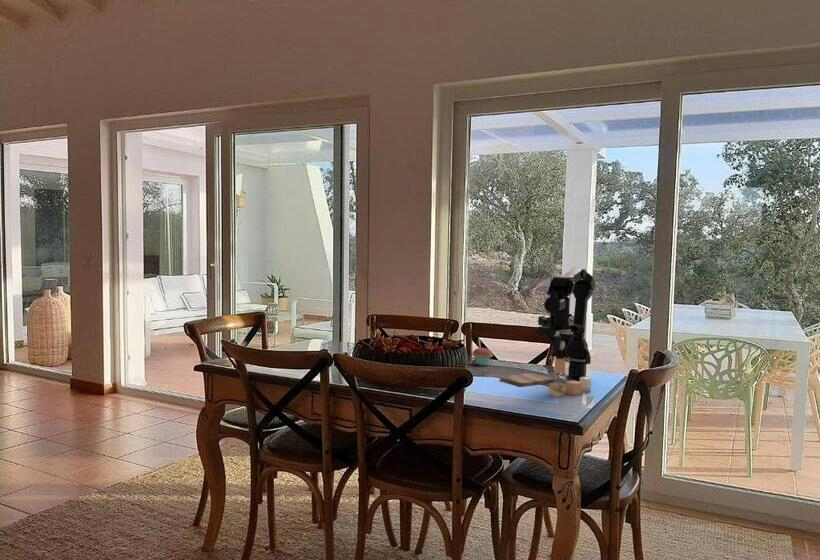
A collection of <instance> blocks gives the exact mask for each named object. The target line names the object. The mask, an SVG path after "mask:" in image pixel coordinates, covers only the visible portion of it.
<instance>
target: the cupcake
mask: <svg viewBox="0 0 820 560" xmlns="http://www.w3.org/2000/svg"><path fill="white" fill-rule="evenodd" d="M477 340H478V341H477V342H478V347H477V348H476V349H474V350H473V351H472V356H473V357H474V359H475V362H476V363H475V364H476V365H477V364H479V365H478V366H488V365H489V363H490V359H491V358H492V357H493V356H494V353H493V351H492V350H490V348H486V347H482V346H481V338H480V337H479V336H478V339H477Z"/></svg>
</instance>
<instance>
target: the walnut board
mask: <svg viewBox="0 0 820 560" xmlns="http://www.w3.org/2000/svg"><path fill="white" fill-rule="evenodd" d="M499 380H500V381H502V382H505V383H509V384H512V385H516V386H518V387H521V388H522V387H528V386H536V385H542V384H549V383H554V378H551V377H547V376H543V375H540V374H537V373H534V372H533V373H532V372H527V373H521V374H511V375H505V376H500V378H499Z"/></svg>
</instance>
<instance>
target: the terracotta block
mask: <svg viewBox="0 0 820 560" xmlns="http://www.w3.org/2000/svg"><path fill="white" fill-rule="evenodd" d="M565 384H566V392H565V394H568V395H572V396H576V395H577V396H578V395H581V394H582V393H583V391H582V383H581V382H580V381H578V380H569V381H568V380H567V381H565Z"/></svg>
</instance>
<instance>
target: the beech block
mask: <svg viewBox="0 0 820 560" xmlns="http://www.w3.org/2000/svg"><path fill="white" fill-rule="evenodd" d="M565 392H566V383H562V382H559V381H555V382H554V381H553V382H550V383H548V395H549V396H550V395H551V396H554V397H556V398H557V397H563V396H566V393H565Z"/></svg>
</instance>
